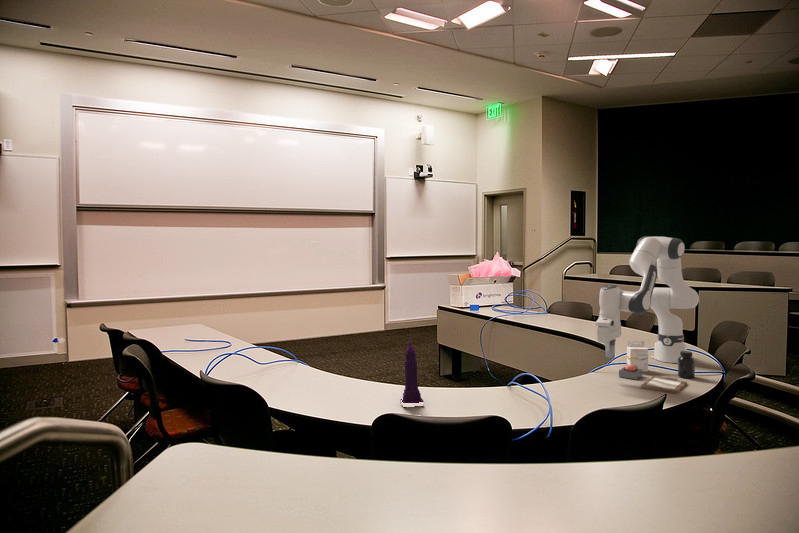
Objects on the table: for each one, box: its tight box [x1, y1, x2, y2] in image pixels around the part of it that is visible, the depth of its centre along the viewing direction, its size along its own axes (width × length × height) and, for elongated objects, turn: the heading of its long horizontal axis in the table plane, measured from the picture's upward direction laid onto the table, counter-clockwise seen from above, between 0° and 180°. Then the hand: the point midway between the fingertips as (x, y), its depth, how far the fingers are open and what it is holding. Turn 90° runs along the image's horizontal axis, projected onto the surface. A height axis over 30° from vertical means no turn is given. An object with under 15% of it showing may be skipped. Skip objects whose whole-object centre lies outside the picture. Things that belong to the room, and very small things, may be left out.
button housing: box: [618, 366, 643, 381], centre depth 226 cm, size 8×8×3 cm
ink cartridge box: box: [626, 340, 649, 373], centre depth 236 cm, size 9×5×15 cm, turn 84°
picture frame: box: [640, 375, 688, 395], centre depth 211 cm, size 18×14×2 cm
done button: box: [624, 364, 636, 372], centre depth 226 cm, size 4×4×3 cm
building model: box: [400, 338, 425, 403], centre depth 195 cm, size 9×6×30 cm
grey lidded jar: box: [605, 340, 616, 359], centre depth 220 cm, size 4×4×8 cm
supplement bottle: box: [677, 350, 696, 380], centre depth 223 cm, size 7×7×12 cm
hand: (610, 349), depth 220 cm, fingers closed on grey lidded jar, 4 cm apart
